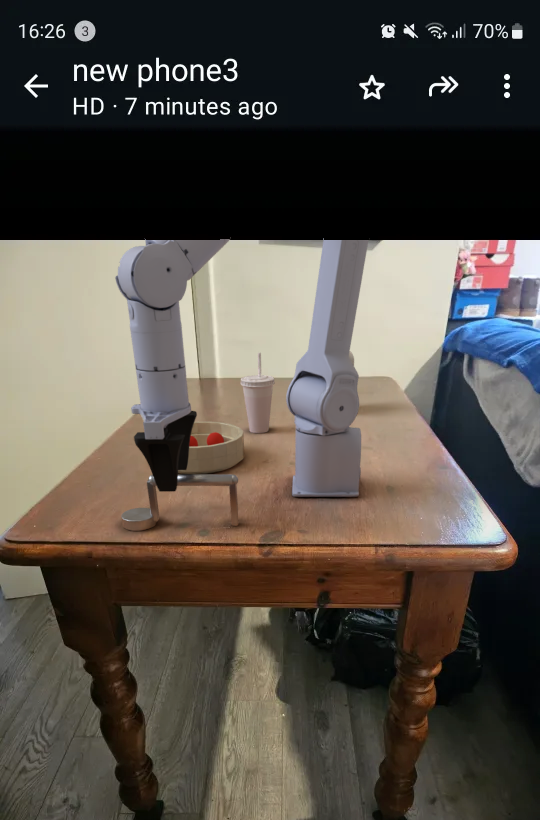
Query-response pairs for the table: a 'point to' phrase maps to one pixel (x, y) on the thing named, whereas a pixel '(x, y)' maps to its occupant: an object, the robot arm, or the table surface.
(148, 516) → the bent metal rod stand
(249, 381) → the smoothie
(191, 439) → the tomato
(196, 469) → the bowl
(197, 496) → the table surface
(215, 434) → the tomato
